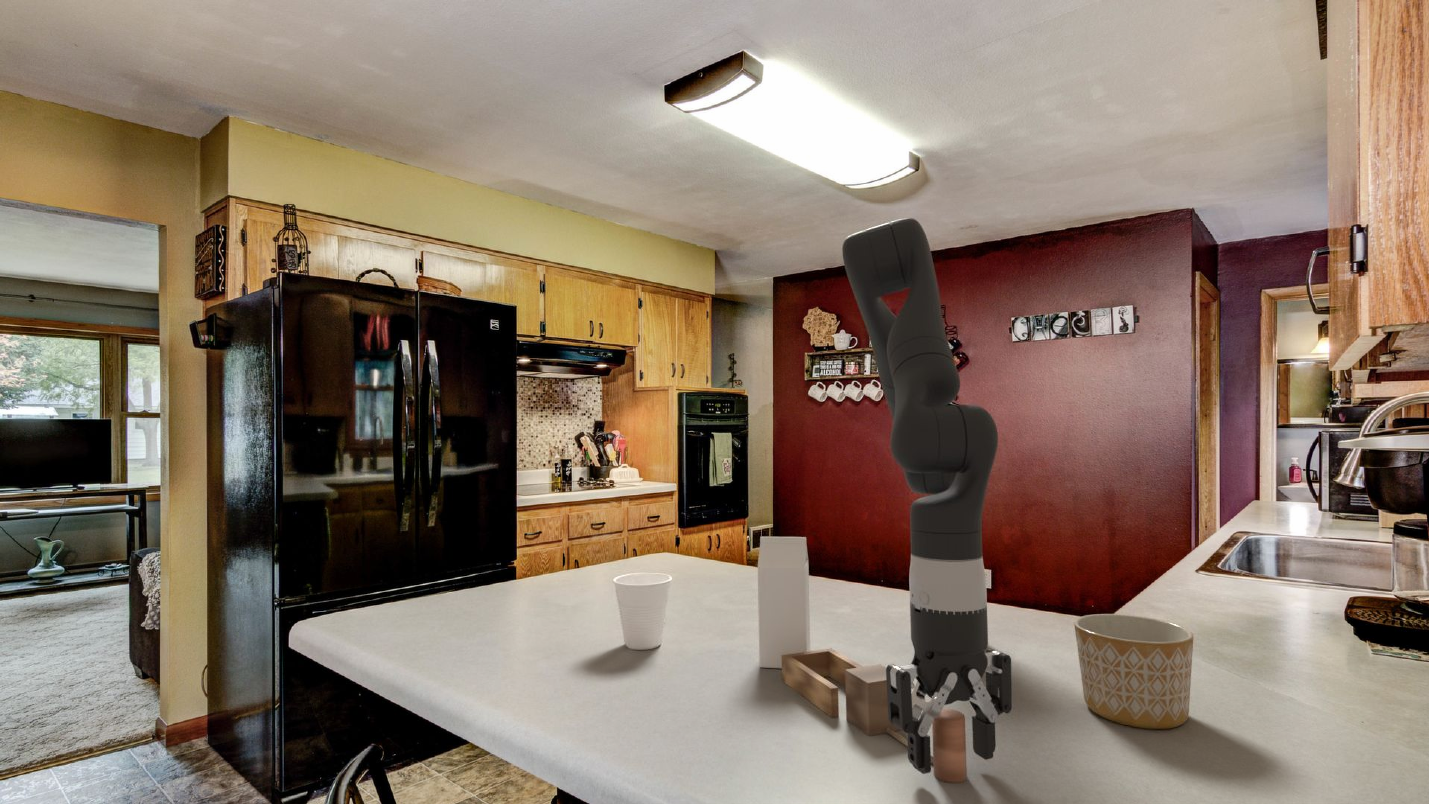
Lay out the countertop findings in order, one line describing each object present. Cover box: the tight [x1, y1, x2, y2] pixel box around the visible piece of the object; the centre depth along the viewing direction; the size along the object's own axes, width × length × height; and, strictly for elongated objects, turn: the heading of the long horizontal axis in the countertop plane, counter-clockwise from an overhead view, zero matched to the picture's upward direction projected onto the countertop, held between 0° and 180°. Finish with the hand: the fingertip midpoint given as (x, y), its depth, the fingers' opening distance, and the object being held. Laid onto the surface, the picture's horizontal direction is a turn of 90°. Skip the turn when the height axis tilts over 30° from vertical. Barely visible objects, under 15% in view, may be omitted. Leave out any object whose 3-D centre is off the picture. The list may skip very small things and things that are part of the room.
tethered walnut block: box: [845, 663, 968, 784], centre depth 78 cm, size 18×5×6 cm, turn 20°
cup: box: [612, 572, 673, 651], centre depth 117 cm, size 10×10×11 cm
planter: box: [1073, 613, 1194, 730], centre depth 86 cm, size 13×13×10 cm
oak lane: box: [781, 647, 864, 718], centre depth 94 cm, size 14×8×4 cm, turn 20°
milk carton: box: [757, 536, 811, 669], centre depth 108 cm, size 7×7×19 cm
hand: (952, 762), depth 71 cm, fingers open, 7 cm apart
